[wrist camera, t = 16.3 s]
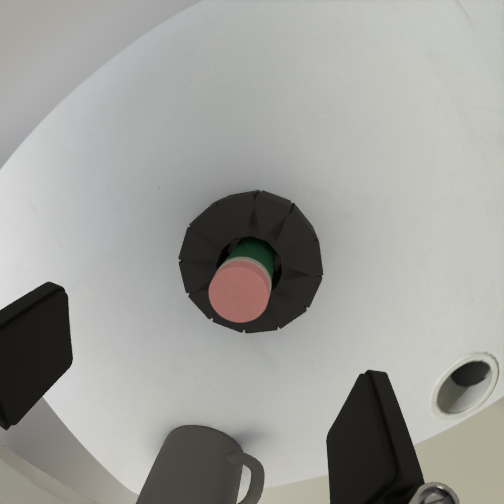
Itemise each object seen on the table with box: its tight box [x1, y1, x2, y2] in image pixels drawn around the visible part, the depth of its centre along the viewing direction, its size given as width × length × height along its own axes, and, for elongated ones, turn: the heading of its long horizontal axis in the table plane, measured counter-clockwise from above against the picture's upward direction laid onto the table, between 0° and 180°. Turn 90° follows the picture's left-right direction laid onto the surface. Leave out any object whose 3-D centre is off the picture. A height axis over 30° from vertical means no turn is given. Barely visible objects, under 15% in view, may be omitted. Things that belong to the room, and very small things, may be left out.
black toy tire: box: [179, 190, 323, 333], centre depth 22 cm, size 9×9×4 cm
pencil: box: [209, 236, 276, 323], centre depth 20 cm, size 3×3×8 cm
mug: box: [136, 426, 264, 504], centre depth 24 cm, size 14×9×12 cm
